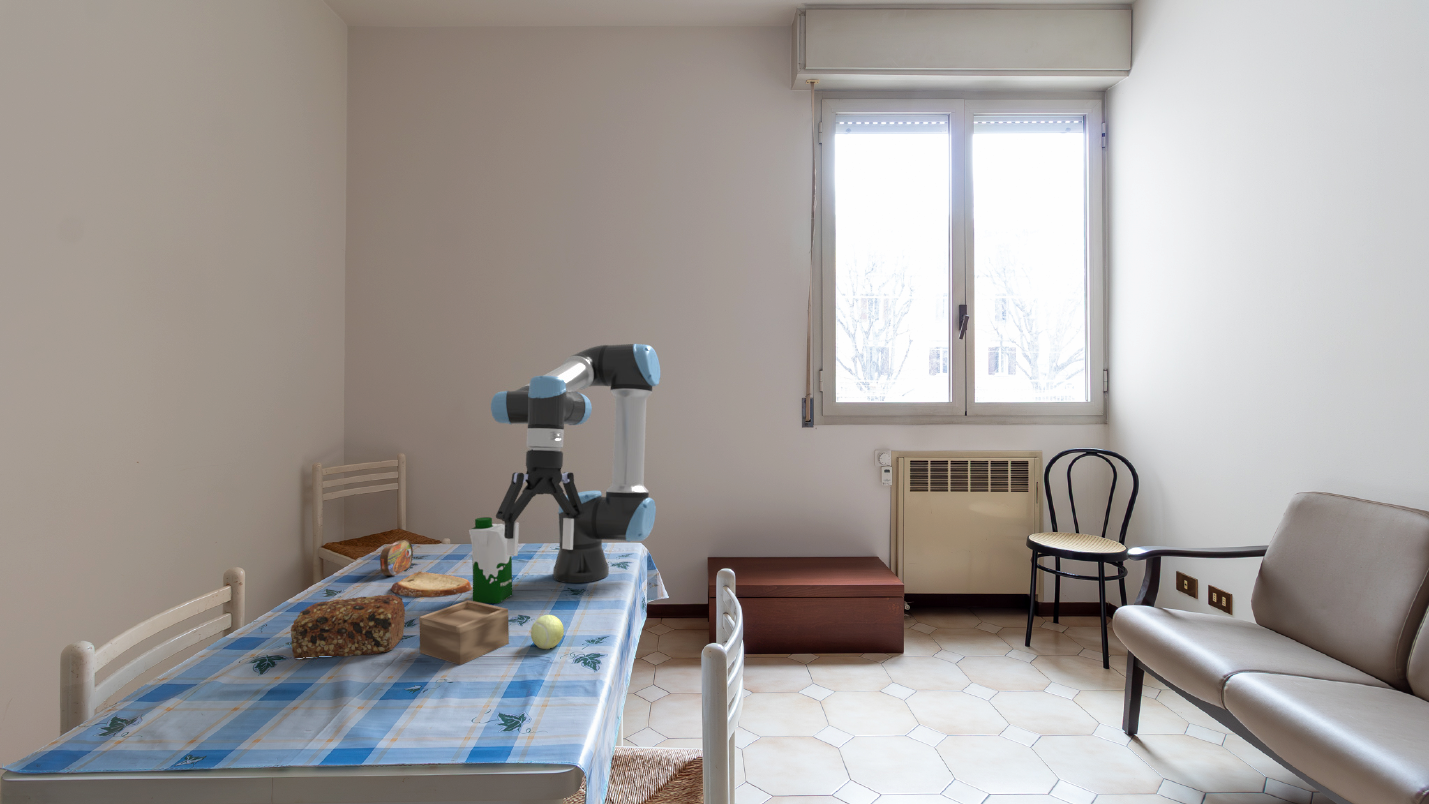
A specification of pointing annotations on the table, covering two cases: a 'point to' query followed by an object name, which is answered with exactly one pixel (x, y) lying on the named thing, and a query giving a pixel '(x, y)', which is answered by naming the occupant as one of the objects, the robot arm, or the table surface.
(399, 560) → the tin
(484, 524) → the milk carton
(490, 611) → the wooden box
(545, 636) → the tennis ball
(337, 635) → the bread
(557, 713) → the table surface
